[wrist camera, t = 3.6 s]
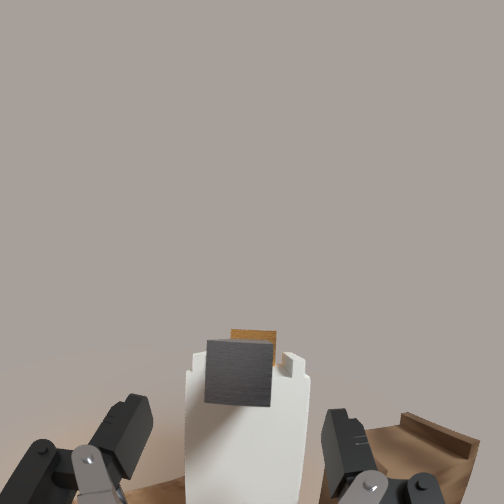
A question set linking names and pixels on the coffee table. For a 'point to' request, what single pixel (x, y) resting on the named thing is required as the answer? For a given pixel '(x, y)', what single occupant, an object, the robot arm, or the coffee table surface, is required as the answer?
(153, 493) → the coffee table surface
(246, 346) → the gray orange-ended bar
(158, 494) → the coffee table surface
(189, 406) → the stand
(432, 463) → the brown tall wooden block
